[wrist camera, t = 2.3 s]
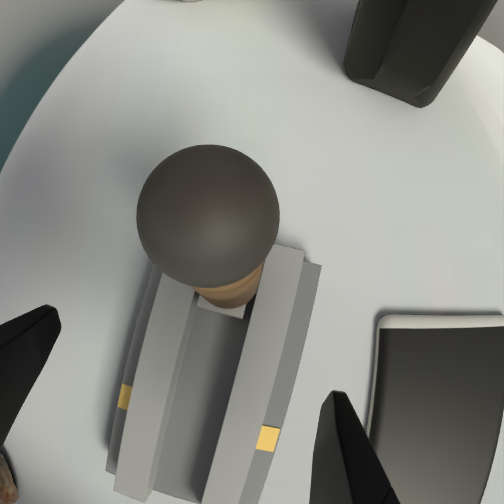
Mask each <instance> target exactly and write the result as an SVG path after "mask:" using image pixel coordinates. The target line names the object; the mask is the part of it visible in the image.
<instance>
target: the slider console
mask: <svg viewBox="0 0 504 504" xmlns="http://www.w3.org/2000/svg"><path fill="white" fill-rule="evenodd" d="M304 255H305V251H302V250H298V249H294V248H290V247H286V246H281V245H277V244H274V245H273V247H272V249H271V251H270V252H269V254H268V256H267V257H266V259H265V260H264V262H263V267H262V272H261V277H260V282H259V286H258V289H257V291H256V293H255V295H254V296H253V298H252V299H251V300H250V301H249V302H248V303H247V307H246V311H245V314H244V318H243V320H241V319H237V318H233V317H229V316H226V315H222V314H218V313H214V312H211V311H207V310H203V309H202V308H200V307H198V306H197V302H198V299H199V295H200V294H199V293H198V292H196V291H195V290H194V289H193V288H192V287H191V286H189V285H186V284H183V283H180V282H178V281H176V280H174V279H172V278H170V277H169V276H167V275H166V274H164V273H163V272H162V271H161V270H160V269H159V268H158V267H157V266H156V265H155V264H154V263H153V266H152V269H151V273H150V276H149V279H148V283H147V286H146V289H145V293H144V296H143V300H142V303H141V307H140V311H139V314H138V318H137V322H136V325H135V329H134V333H133V337H132V341H131V345H130V349H129V353H128V357H127V361H126V365H125V370H124V374H123V379H122V383H121V388H120V392H119V397H118V402H117V407H116V412H115V417H114V422H113V428H112V433H111V439H110V445H109V451H108V457H107V464H106V470H105V471H107V472H109V473H112V474H114V475H116V477H115V483H114V490H113V491H116V492H118V493H120V494H123V495H125V496H128V497H130V498H133V499H135V500H138V501H141V502H143V503H144V502H145V501H146V499H147V498H148V496H149V495H150V493H151V492H152V490H155V491H158V492H161V493H164V494H167V495H170V496H173V497H176V498H180V499H183V500H186V501H190V502H194V503H197V504H258V501H259V498H260V495H261V492H262V489H263V487H264V484H265V481H266V478H267V474H268V471H269V468H270V465H271V462H272V459H273V456H274V453H275V449H276V446H277V443H278V440H279V436H280V433H281V429H282V426H283V423H284V419H285V416H286V412H287V409H288V405H289V401H290V398H291V394H292V390H293V387H294V383H295V379H296V375H297V372H298V368H299V364H300V360H301V356H302V352H303V348H304V344H305V339H306V335H307V331H308V327H309V322H310V318H311V314H312V309H313V305H314V300H315V295H316V291H317V286H318V281H319V276H320V271H321V266H322V265H318V264H314V263H310V262H306V261H303V260H304Z"/></svg>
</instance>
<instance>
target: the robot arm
mask: <svg viewBox="0 0 504 504" xmlns="http://www.w3.org/2000/svg"><path fill="white" fill-rule="evenodd" d="M60 331H61V322H60V319H59V315H58V311H57V309H56V308H55V307H52V306H50V305H47V304H46V305H43V306H41V307H38V308H36V309H34V310H32V311H30V312H27V313H25V314H23V315H21V316H19V317H16V318H14V319H12V320H10V321H8V322H6V323H4V324H1V325H0V450H1V448H2V446H3V443H4V441H5V439H6V437H7V435H8V433H9V431H10V429H11V427H12V425H13V423H14V421H15V419H16V417H17V415H18V413H19V411H20V409H21V407H22V405H23V403H24V401H25V400H26V398H27V396H28V394H29V392H30V390H31V389H32V387H33V385H34V383H35V381H36V380H37V378H38V376H39V374H40V373H41V371H42V369H43V367H44V365H45V363H46V361H47V359H48V357H49V355H50V352H51V350H52V348H53V346H54V344H55V342H56V340H57V338H58V336H59V333H60ZM309 504H401V503H400V501H399V499H398V497H397V495H396V493H395V491H394V489H393V487H391V483H390V481H389V479H388V477H387V475H386V473H385V471H384V469H383V466H382V464H381V462H380V460H379V458H378V456H377V454H376V452H375V450H374V448H373V446H372V444H371V442H370V440H369V438H368V436H367V434H366V432H365V430H364V428H363V426H362V424H361V422H360V420H359V418H358V416H357V414H356V412H355V410H354V408H353V406H352V404H351V402H350V400H349V398H348V396H347V394H346V393H345V392H342V391H336V390H333V391H331V392H330V394H329V395H328V397H327V398H326V400H325V401H324V403H323V404H322V407H321V410H320V416H319V423H318V428H317V434H316V440H315V445H314V451H313V461H312V476H311V489H310V501H309Z"/></svg>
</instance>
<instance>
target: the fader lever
mask: <svg viewBox="0 0 504 504" xmlns="http://www.w3.org/2000/svg"><path fill="white" fill-rule="evenodd" d="M279 217H280V211H279V203H278V199H277V195H276V192H275V189H274V187H273V184H272V182H271V181H270V179H269V178H268V176H267V174H266V173H265V172H264V171H263V169H262V168H261V167H260V166H259V165H258V164H257V163H256V162H255V161H254V160H252V159H251V158H249V157H248V156H246V155H245V154H243V153H241V152H239V151H237V150H235V149H232V148H229V147H225V146H220V145H197V146H192V147H188V148H185V149H182V150H180V151H178V152H176V153H174V154H172V155H171V156H169V157H168V158H166V159H165V160H164V161H162V162H161V163H160V164H159V165H158V166H157V167H156V168H155V169H154V170H153V171H152V173H151V174H150V175H149V177H148V178H147V180H146V182H145V184H144V186H143V188H142V190H141V193H140V196H139V199H138V205H137V216H136V220H137V229H138V234H139V238H140V240H141V243H142V245H143V248H144V250H145V252H146V253H147V255H148V257H149V258H150V259H151V260H152V262H153V263H154V264H155V265H156V266H157V267H158V268H159V269H160V270H161V271H162V272H163V273H164V274H166V275H167V276H169V277H170V278H172V279H174V280H176V281H178V282H180V283H183V284H186V285H189V286H191V287H192V288H193V289H194V290H195V291H196V292H198V293H199V294H200V295H199V299H198V302H197V306H198V307H200V308H202V309H203V310H207V311H211V312H214V313H218V314H222V315H226V316H229V317H233V318H237V319H241V320H243V318H244V314H245V311H246V307H247V303H248V302H249V301H250V300H251V299H252V298H253V296H254V295H255V293H256V291H257V289H258V286H259V282H260V277H261V272H262V267H263V262H264V260H265V259H266V257H267V256H268V254H269V252H270V251H271V249H272V247H273V245H274V242H275V240H276V237H277V233H278V228H279Z"/></svg>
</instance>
